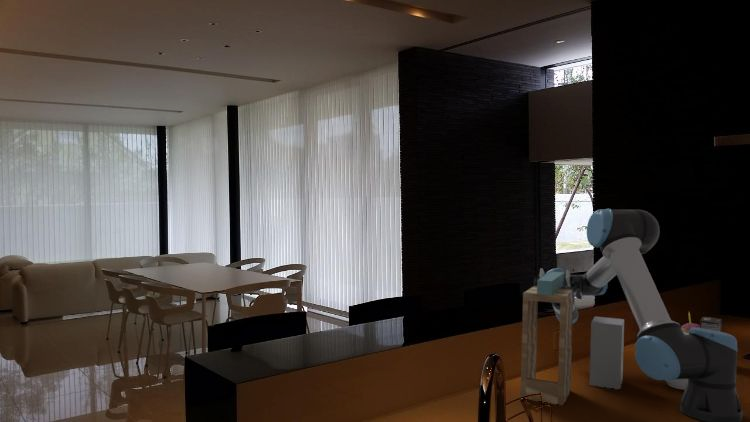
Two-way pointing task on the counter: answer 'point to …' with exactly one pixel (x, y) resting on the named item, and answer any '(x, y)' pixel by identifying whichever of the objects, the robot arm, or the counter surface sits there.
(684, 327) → the cupcake
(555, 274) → the teal block
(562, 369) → the wooden stool frame
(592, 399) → the counter surface
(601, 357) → the stone block
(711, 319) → the coffee box
